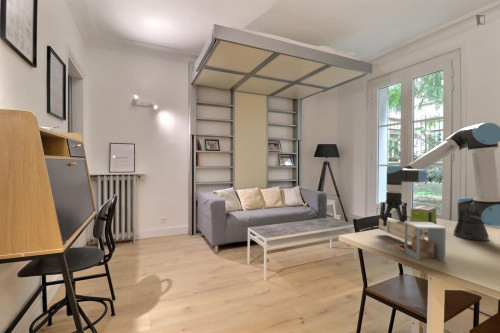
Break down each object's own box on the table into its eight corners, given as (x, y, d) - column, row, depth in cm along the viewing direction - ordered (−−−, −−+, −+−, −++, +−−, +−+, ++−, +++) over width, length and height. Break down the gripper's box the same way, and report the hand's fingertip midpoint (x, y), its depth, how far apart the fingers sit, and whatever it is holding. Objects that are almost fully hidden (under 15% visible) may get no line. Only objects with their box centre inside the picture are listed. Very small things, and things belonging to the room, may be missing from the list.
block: (425, 253, 113) (425, 239, 113) (433, 258, 107) (433, 243, 107) (411, 253, 113) (411, 238, 113) (419, 258, 107) (419, 242, 107)
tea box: (419, 226, 164) (419, 205, 164) (436, 229, 156) (437, 207, 155) (410, 229, 155) (410, 207, 155) (428, 233, 147) (429, 209, 147)
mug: (389, 227, 160) (389, 211, 160) (393, 225, 166) (393, 209, 166) (410, 231, 152) (410, 214, 152) (413, 229, 157) (414, 212, 157)
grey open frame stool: (417, 246, 123) (418, 217, 123) (445, 261, 104) (445, 227, 104) (394, 246, 124) (394, 217, 124) (417, 260, 105) (417, 226, 105)
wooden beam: (388, 228, 144) (388, 217, 144) (424, 242, 118) (424, 229, 118) (378, 229, 143) (379, 217, 143) (413, 243, 117) (413, 229, 117)
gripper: (407, 191, 139) (406, 230, 139) (373, 190, 140) (372, 229, 140) (415, 193, 131) (414, 234, 131) (379, 192, 132) (378, 233, 133)
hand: (393, 232), depth 136 cm, fingers closed on wooden beam, 7 cm apart
